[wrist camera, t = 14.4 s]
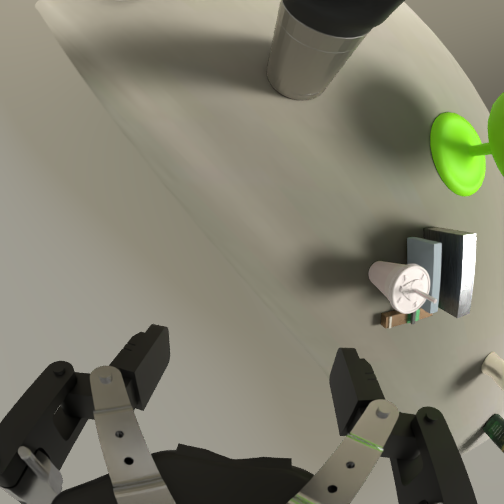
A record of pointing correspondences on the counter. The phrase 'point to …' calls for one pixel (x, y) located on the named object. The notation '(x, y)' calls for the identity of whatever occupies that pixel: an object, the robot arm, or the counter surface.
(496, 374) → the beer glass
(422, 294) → the smoothie
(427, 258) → the gauge paddle
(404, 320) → the gauge frame
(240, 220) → the counter surface
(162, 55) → the counter surface
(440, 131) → the wineglass
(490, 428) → the coffee jar
